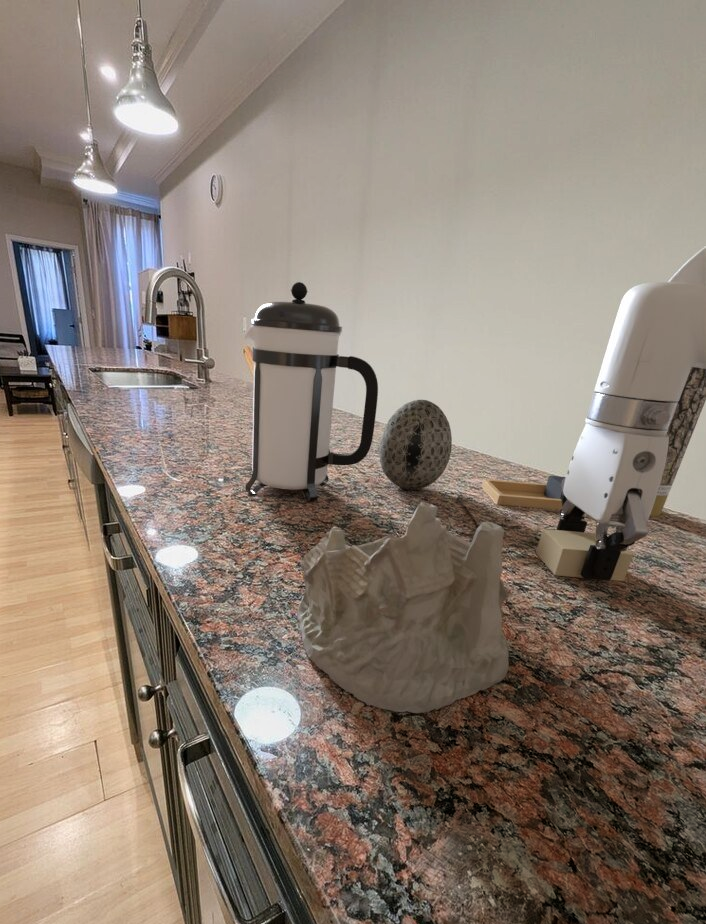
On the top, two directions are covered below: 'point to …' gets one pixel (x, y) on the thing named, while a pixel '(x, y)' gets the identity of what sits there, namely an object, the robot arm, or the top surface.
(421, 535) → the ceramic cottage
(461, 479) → the top surface
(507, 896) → the top surface
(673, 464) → the paper tube
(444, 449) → the decorative egg
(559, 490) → the charcoal pad
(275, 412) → the coffee press
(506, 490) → the tray
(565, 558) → the beige pad
